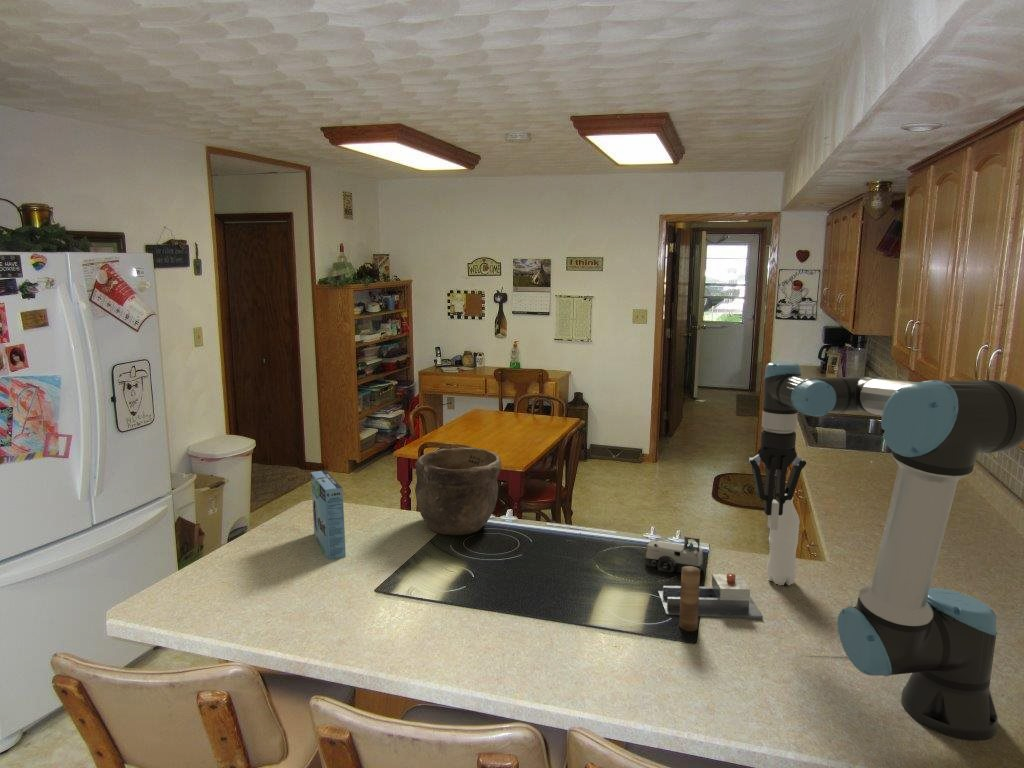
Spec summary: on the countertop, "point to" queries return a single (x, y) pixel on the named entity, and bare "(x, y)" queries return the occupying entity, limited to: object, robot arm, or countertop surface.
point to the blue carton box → (328, 514)
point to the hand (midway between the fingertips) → (772, 527)
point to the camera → (674, 555)
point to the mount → (710, 604)
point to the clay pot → (457, 489)
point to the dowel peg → (689, 598)
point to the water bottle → (784, 546)
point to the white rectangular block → (730, 587)
